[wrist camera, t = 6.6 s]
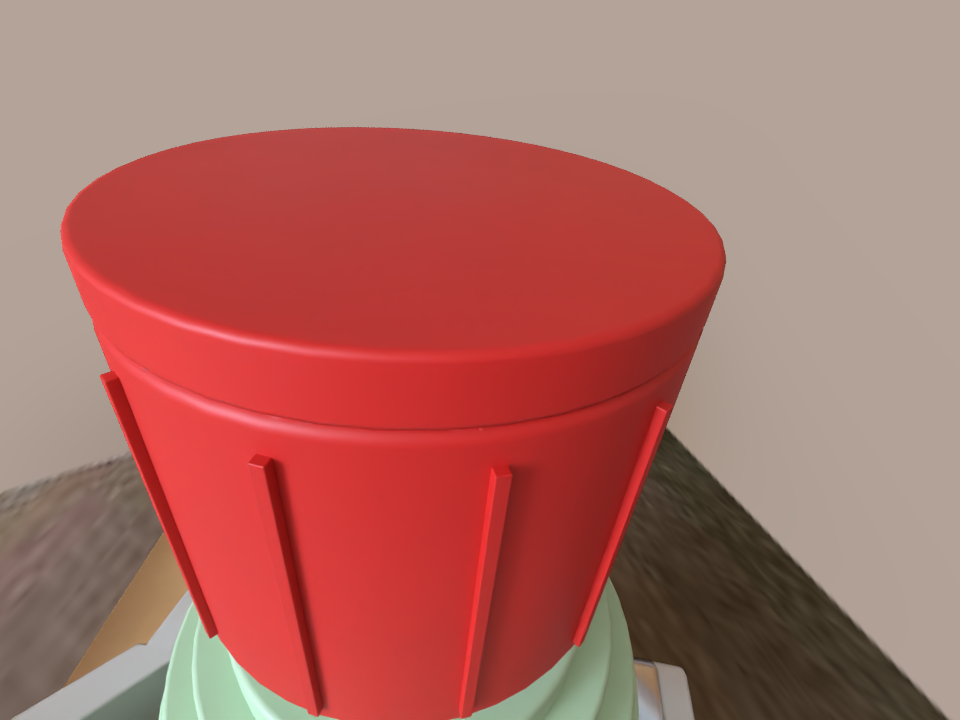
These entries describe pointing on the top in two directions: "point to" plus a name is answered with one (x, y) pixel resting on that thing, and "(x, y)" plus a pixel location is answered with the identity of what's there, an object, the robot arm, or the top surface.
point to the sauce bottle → (524, 716)
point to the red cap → (392, 394)
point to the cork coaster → (137, 609)
